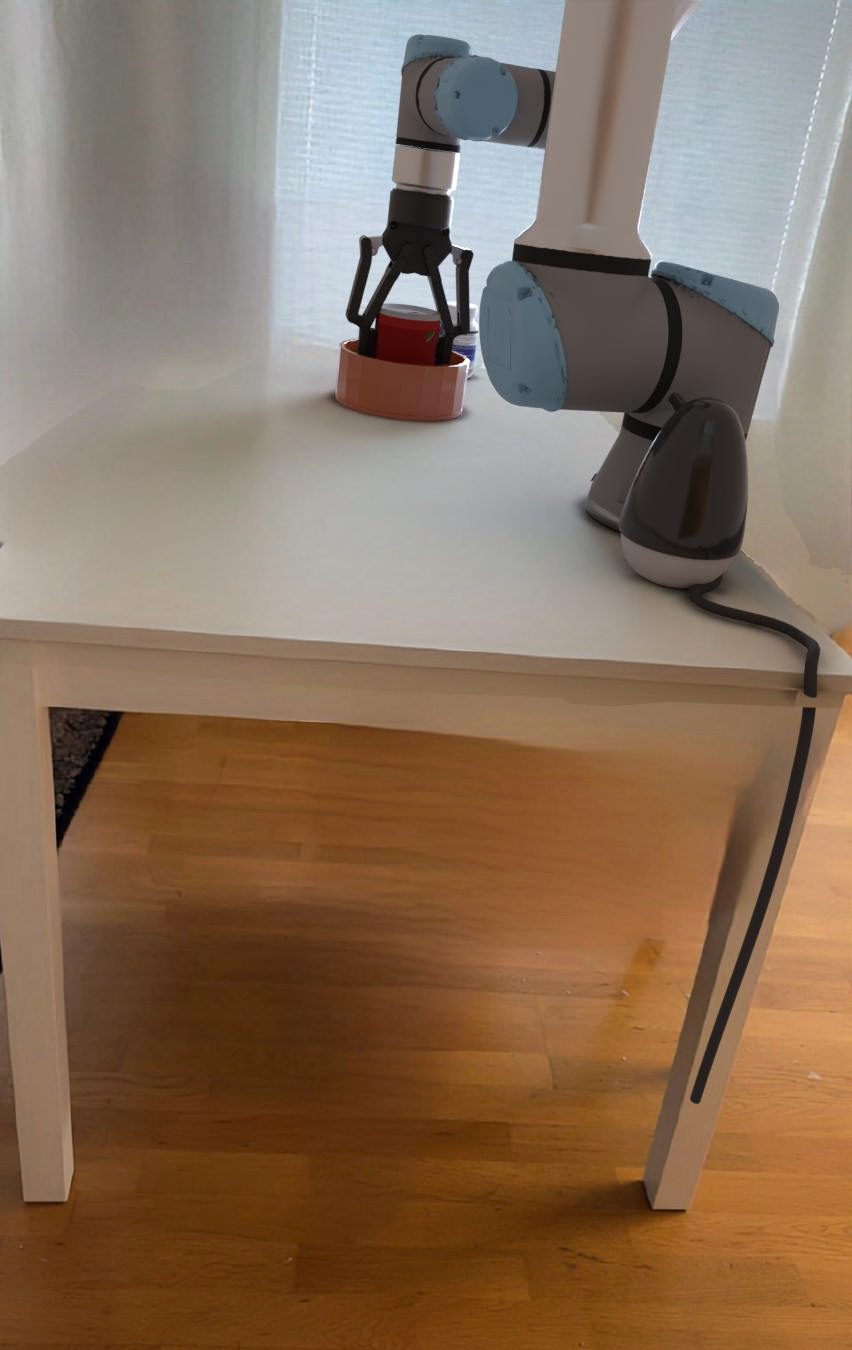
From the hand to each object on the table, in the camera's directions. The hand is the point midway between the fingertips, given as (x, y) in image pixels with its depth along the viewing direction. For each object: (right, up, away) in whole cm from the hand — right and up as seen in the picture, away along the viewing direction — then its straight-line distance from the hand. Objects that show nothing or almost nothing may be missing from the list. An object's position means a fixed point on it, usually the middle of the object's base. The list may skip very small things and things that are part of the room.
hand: (400, 386), depth 135 cm
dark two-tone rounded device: (+24, -28, -44) cm, 57 cm away
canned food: (0, -2, +1) cm, 2 cm away
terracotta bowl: (0, -2, +1) cm, 2 cm away
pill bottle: (+7, +8, +22) cm, 25 cm away
